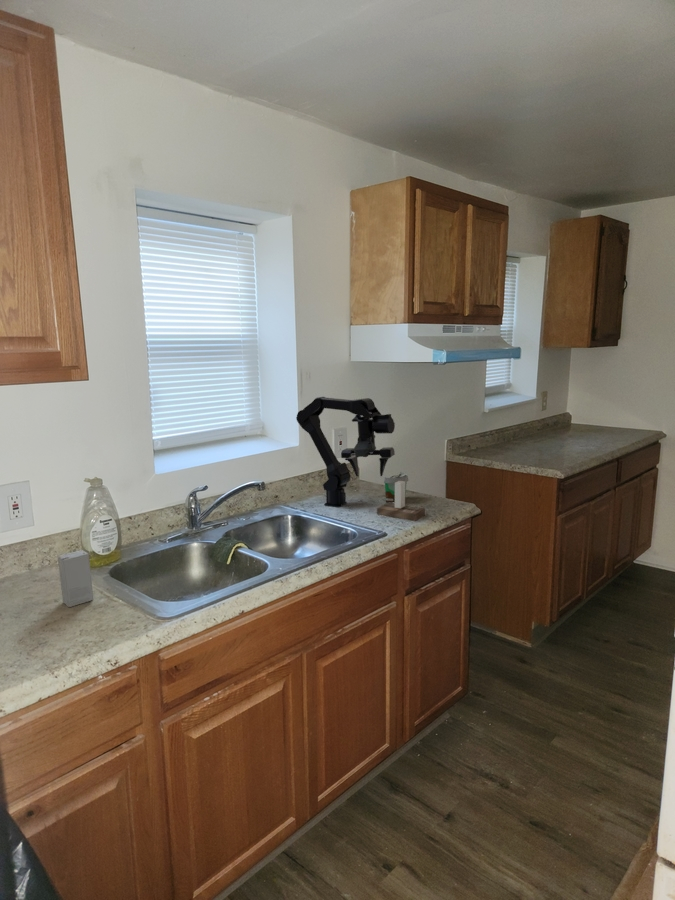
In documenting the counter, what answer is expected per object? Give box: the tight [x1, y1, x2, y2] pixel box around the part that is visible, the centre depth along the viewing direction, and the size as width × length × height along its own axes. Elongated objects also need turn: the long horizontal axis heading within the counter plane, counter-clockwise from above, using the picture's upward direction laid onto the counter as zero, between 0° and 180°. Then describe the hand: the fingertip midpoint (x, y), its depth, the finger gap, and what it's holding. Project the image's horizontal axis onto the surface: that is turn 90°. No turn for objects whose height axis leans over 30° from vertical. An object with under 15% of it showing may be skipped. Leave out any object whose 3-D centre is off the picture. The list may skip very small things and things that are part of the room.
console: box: [376, 502, 426, 522], centre depth 211 cm, size 15×8×3 cm, turn 58°
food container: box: [383, 471, 409, 503], centre depth 229 cm, size 12×6×10 cm, turn 143°
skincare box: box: [57, 549, 94, 608], centre depth 142 cm, size 6×4×12 cm
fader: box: [394, 481, 406, 508], centre depth 210 cm, size 2×4×9 cm
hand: (369, 476), depth 216 cm, fingers open, 9 cm apart
